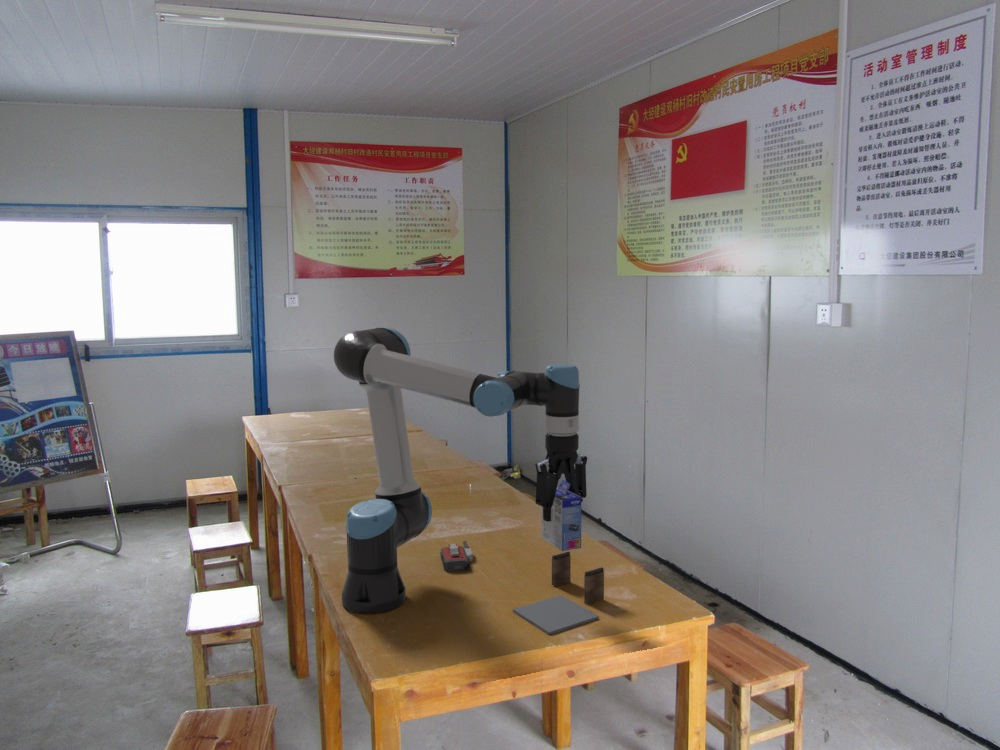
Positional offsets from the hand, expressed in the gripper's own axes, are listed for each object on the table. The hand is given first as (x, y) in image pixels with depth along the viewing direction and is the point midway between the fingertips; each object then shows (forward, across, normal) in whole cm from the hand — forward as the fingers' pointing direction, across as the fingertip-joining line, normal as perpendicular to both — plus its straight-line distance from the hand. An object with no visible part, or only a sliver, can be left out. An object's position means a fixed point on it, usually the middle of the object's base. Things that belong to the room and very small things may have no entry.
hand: (561, 531), depth 177 cm
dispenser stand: (+18, +9, +4) cm, 21 cm away
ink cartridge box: (+3, 0, 0) cm, 3 cm away
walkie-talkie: (+20, -3, +41) cm, 46 cm away
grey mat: (+18, -4, -3) cm, 19 cm away
